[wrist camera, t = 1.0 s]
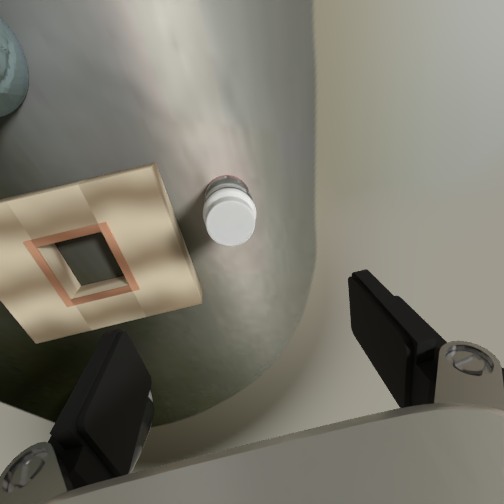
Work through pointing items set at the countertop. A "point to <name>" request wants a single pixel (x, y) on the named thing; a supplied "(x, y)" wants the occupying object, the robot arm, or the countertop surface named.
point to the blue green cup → (11, 71)
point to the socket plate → (119, 240)
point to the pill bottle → (229, 211)
